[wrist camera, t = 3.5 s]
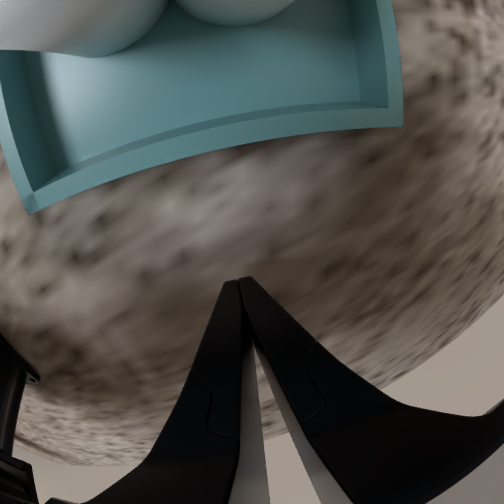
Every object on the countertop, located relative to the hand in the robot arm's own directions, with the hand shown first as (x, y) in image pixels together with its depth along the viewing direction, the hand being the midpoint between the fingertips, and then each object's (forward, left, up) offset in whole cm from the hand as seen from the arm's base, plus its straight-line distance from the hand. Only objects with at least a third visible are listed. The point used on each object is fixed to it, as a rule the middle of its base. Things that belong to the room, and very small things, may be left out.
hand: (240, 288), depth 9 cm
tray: (+9, 0, -2) cm, 9 cm away
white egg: (+9, +2, -1) cm, 9 cm away
